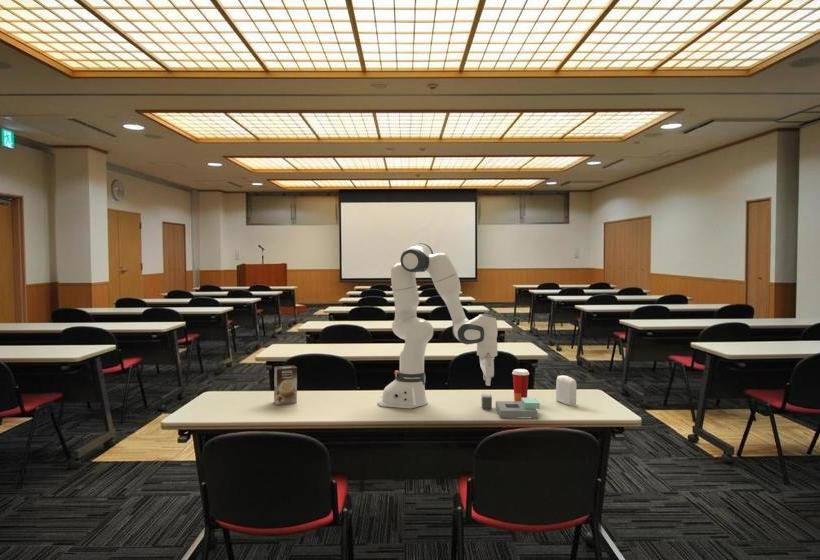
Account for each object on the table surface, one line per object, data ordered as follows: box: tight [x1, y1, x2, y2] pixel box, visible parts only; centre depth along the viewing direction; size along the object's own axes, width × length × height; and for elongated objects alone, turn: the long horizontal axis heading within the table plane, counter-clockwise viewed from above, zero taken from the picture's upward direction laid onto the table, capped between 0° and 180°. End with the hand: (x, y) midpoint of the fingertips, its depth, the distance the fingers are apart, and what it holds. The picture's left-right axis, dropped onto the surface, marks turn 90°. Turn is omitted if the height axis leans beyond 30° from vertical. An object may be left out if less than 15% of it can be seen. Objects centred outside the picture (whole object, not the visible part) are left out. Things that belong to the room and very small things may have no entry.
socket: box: [495, 400, 538, 419], centre depth 211 cm, size 15×14×3 cm
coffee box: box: [273, 365, 298, 406], centre depth 225 cm, size 9×6×16 cm
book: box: [555, 375, 578, 407], centre depth 226 cm, size 10×4×12 cm, turn 25°
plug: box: [480, 392, 493, 410], centre depth 218 cm, size 4×4×6 cm
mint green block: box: [521, 397, 540, 410], centre depth 210 cm, size 6×8×2 cm
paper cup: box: [511, 368, 530, 401], centre depth 229 cm, size 8×8×14 cm
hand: (486, 382), depth 218 cm, fingers open, 8 cm apart
